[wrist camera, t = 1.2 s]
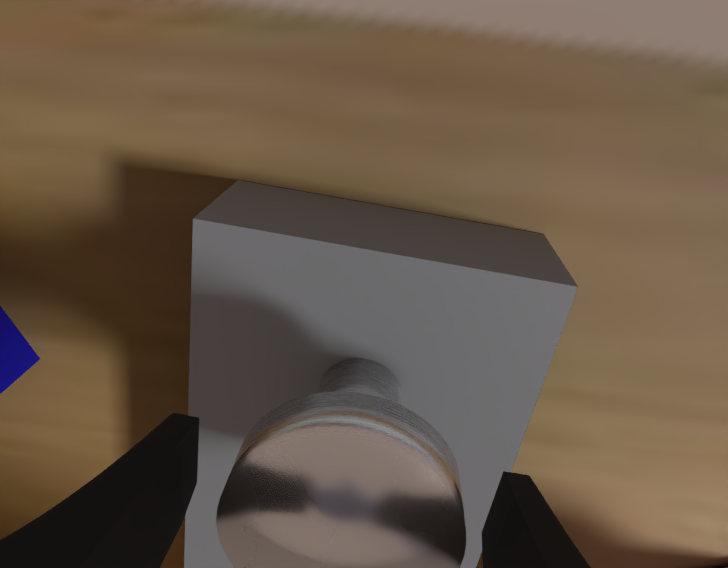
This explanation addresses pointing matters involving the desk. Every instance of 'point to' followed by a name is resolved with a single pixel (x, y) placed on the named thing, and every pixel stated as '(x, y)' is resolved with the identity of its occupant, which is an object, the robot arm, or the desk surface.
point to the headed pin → (344, 482)
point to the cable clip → (13, 352)
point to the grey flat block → (366, 329)
